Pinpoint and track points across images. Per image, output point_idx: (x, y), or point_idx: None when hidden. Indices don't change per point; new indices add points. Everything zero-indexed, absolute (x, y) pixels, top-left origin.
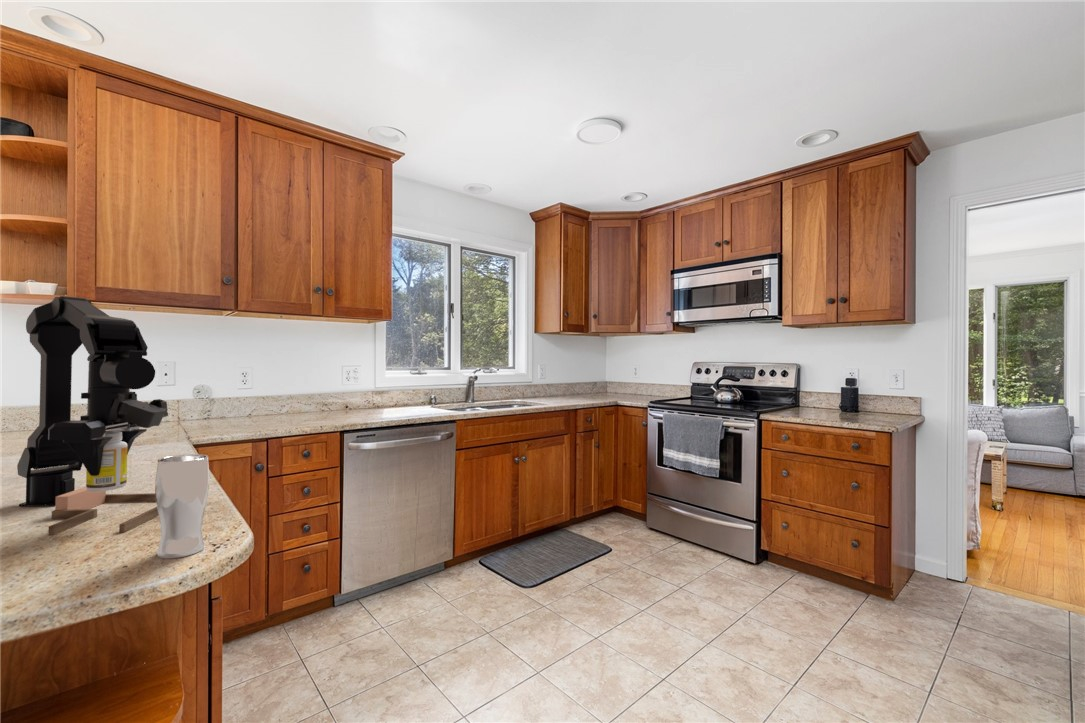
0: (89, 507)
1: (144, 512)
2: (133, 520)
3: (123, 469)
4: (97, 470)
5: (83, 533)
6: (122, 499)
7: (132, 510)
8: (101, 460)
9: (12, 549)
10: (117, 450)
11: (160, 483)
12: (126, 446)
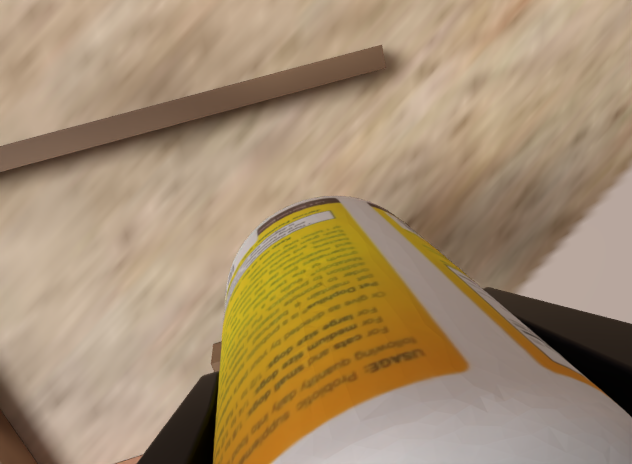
0: (137, 460)
1: (207, 115)
2: (319, 61)
3: (335, 236)
4: (520, 297)
5: (389, 205)
6: (14, 447)
7: (101, 296)
8: (566, 336)
9: (532, 266)
10: (518, 351)
11: None
12: (344, 419)
